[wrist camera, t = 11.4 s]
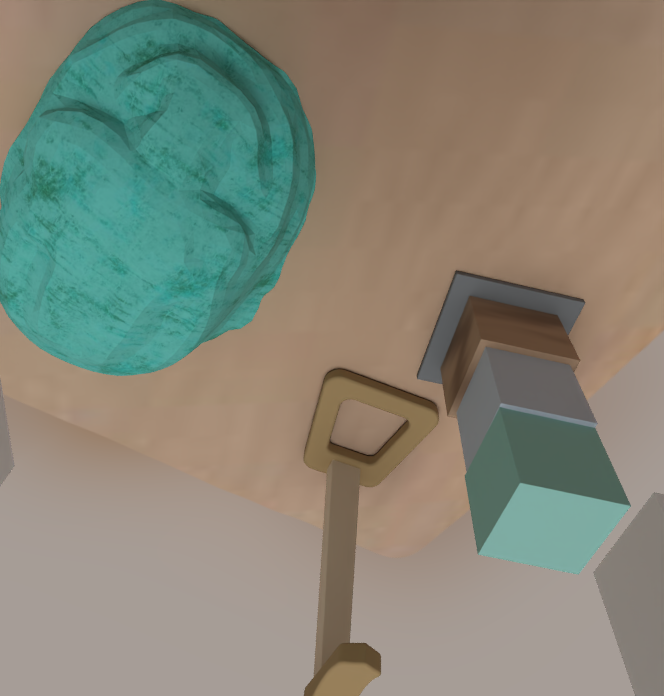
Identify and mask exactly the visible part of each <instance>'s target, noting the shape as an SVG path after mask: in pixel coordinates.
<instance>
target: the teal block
mask: <svg viewBox="0 0 664 696" xmlns="http://www.w3.org/2000/svg"><path fill="white" fill-rule="evenodd" d="M465 480H466V486H467V492H468V498H469V504H470V510H471V516H472V521H473V528H474V533H475V540H476V545H477V552H478V555H483V556H488V557H493V558H498V559H503V560H508V561H513V562H518V563H523V564H529V565H534V566H538V567H544V568H549V569H554V570H558V571H563V572H568V573H573V574H579V573H580V572H581V570H582V569H583V568H584V566H585V565H586V564H587V562H588V561H589V560H590V559H591V557H592V556H593V555H594V553H595V552H596V551H597V550H598V548H599V547H600V546H601V544H602V543H603V542H604V540H605V539H606V538H607V537H608V535H609V534H610V533H611V531H612V530H613V529H614V527H615V526H616V525H617V523H618V522H619V521H620V519H621V518H622V517H623V516H624V514H625V513H626V512H627V511H628V509H629V508H630V507H631V505H630V503H629V501H628V499H627V496H626V494H625V492H624V490H623V488H622V485H621V483H620V481H619V479H618V477H617V475H616V472H615V471H614V468H613V466H612V464H611V461H610V459H609V457H608V455H607V453H606V451H605V448H604V446H603V444H602V442H601V440H600V437H599V435H598V433H597V431H596V429H595V428H593V427H588V426H584V425H579V424H575V423H570V422H566V421H561V420H556V419H552V418H547V417H543V416H538V415H534V414H529V413H524V412H520V411H515V410H511V409H506V408H502V407H499V409H498V411H497V413H496V415H495V417H494V419H493V421H492V423H491V425H490V427H489V429H488V431H487V433H486V435H485V437H484V439H483V441H482V443H481V445H480V447H479V449H478V451H477V453H476V455H475V457H474V459H473V461H472V463H471V465H470V467H469V469H468V471H467V473H466V475H465Z"/></svg>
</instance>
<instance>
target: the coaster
mask: <svg viewBox="0 0 664 696" xmlns="http://www.w3.org/2000/svg"><path fill="white" fill-rule="evenodd" d="M469 296H474V297H478V298H483V299H487V300H491V301H496V302H500V303H505V304H509V305H514V306H518V307H523V308H527V309H532V310H536V311H541V312H545V313H549V314H554V315H558V317H559V319H560V321H561V323H562V325H563V327H564V329H565V331H566V333H567V335H569V333H570V331H571V329H572V327H573V325H574V323H575V321H576V319H577V318H578V316H579V314H580V312H581V310H582V308H583V306H584V304H585V302H584V300H583V299H578V298H574V297H570V296H565V295H561V294H556V293H552V292H547V291H543V290H539V289H534V288H530V287H525V286H521V285H517V284H512V283H508V282H503V281H499V280H495V279H490V278H486V277H481V276H477V275H473V274H468V273H464V272H459V271H456V272H455V275H454V278H453V280H452V283H451V286H450V288H449V291H448V294H447V296H446V299H445V302H444V304H443V307H442V310H441V312H440V315H439V318H438V320H437V323H436V326H435V328H434V331H433V334H432V336H431V339H430V342H429V344H428V347H427V350H426V352H425V355H424V358H423V360H422V363H421V366H420V368H419V371H418V374H417V379H420V380H425V381H430V382H434V383H439V384H443V383H442V376H441V370H440V368H441V365H442V363H443V360H444V358H445V355H446V353H447V350H448V348H449V345H450V343H451V340H452V338H453V335H454V333H455V330H456V328H457V325H458V323H459V320H460V318H461V315H462V313H463V310H464V308H465V305H466V303H467V300H468V298H469Z"/></svg>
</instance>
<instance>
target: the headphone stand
mask: <svg viewBox="0 0 664 696" xmlns="http://www.w3.org/2000/svg"><path fill="white" fill-rule="evenodd" d="M347 399H353V400H357V401H359V402H362V403H365V404H368V405H370V406H373V407H376V408H379V409H382V410H384V411H387V412H390V413H393V414H395V415H398V416H401V417H404V418H406V419H407V420H408V421H407V422H406V423H405V424H404V425H403V426H402V427H401V428H400V429H399V430H398V432H397V433H396V434H395V435H394V436H393V437H392V438H391V439H390V440H389V441H388V442H387V443H386V444H385V445H384V446H383V448H382V449H381V450H380V451H379V452H378V453H377V454H376V455H374V456H366V455H363V454H360V453H357V452H354V451H351V450H348V449H345V448H342V447H340V446H337V445H334V444H331V443H330V442H329V440H330V437H331V434H332V430H333V427H334V424H335V420H336V417H337V414H338V411H339V407H340V404H341V403H342V402H343V401H344V400H347ZM438 421H439V416H438V409H437V407H436V406H435V405H434V404H433V403H432V402H430V401H428V400H425V399H422V398H420V397H417V396H414V395H411V394H409V393H406V392H403V391H401V390H398V389H395V388H392V387H390V386H387V385H384V384H382V383H379V382H376V381H373V380H371V379H368V378H365V377H362V376H360V375H357V374H354V373H352V372H349V371H346V370H342V369H337V370H333V371H331V372H329V373H328V374H327V375H326V376H325V378H324V382H323V385H322V389H321V393H320V396H319V400H318V404H317V407H316V411H315V415H314V418H313V422H312V426H311V429H310V433H309V436H308V440H307V444H306V447H305V452H304V463H305V464H306V465H307V466H308V467H309V468H312V469H314V470H317V471H320V472H323V473H326V474H327V479H326V495H325V510H324V526H323V541H322V557H321V572H320V588H319V603H318V618H317V619H318V620H317V633H316V649H315V664H314V678H313V679H312V680H311V681H310V683H309V684H308V685H307V686H306V688H305V691H304V696H359V695H360V694H361V692H362V691H363V689H364V688H365V687H366V686H367V685H368V683H370V682H371V681H372V680H373V679H375V678H376V677H379V676H380V675H381V656H380V654H379V653H378V652H377V651H375V650H374V649H373V648H372V647H370V646H369V645H367V644H366V643H350V630H351V613H352V595H353V581H354V564H355V549H356V533H357V517H358V501H359V485H362V486H365V487H374V486H377V485H378V484H380V483H381V481H382V480H383V479H384V478H385V477H386V476H387V475H388V474H389V473H390V472H391V471H392V470H393V469H394V468H395V467H396V466H397V465H398V464H399V463H400V462H401V461H402V460H403V459H404V458H405V457H406V456H407V455H408V454H409V453H410V452H411V451H412V450H413V449H414V448H415V447H416V446H417V445H418V444H419V443H420V442H421V441H422V440H423V439H424V438H425V437H426V436H427V435H428V434H429V433H430V432H431V431H432V430H433V429H434V428H435V427H436V425H437V424H438Z"/></svg>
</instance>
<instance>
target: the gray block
mask: <svg viewBox="0 0 664 696" xmlns="http://www.w3.org/2000/svg"><path fill="white" fill-rule="evenodd" d="M499 407H502V408H506V409H511V410H515V411H520V412H524V413H529V414H534V415H538V416H543V417H547V418H552V419H556V420H561V421H566V422H570V423H575V424H579V425H584V426H588V427H593V428H595V427H596V425H597V421H596V419H595V417H594V415H593V413H592V411H591V409H590V406H589V404H588V402H587V400H586V398H585V396H584V394H583V391H582V389H581V387H580V385H579V383H578V381H577V379H576V376H575V374H574V372H573V370H572V368H571V366H570V365H568V364H563V363H559V362H554V361H549V360H545V359H540V358H536V357H531V356H527V355H522V354H517V353H513V352H508V351H504V350H499V349H494V348H490V347H485V349H484V351H483V354H482V356H481V358H480V360H479V363H478V365H477V367H476V369H475V372H474V374H473V376H472V379H471V381H470V383H469V385H468V388H467V390H466V392H465V394H464V397H463V399H462V401H461V403H460V406H459V408H458V410H457V419H458V425H459V431H460V436H461V442H462V448H463V454H464V459H465V465H466V471H468V469H469V467H470V465H471V463H472V461H473V459H474V457H475V455H476V453H477V451H478V449H479V447H480V445H481V443H482V441H483V439H484V437H485V435H486V433H487V431H488V429H489V427H490V425H491V423H492V421H493V419H494V417H495V415H496V413H497V411H498V409H499Z"/></svg>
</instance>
